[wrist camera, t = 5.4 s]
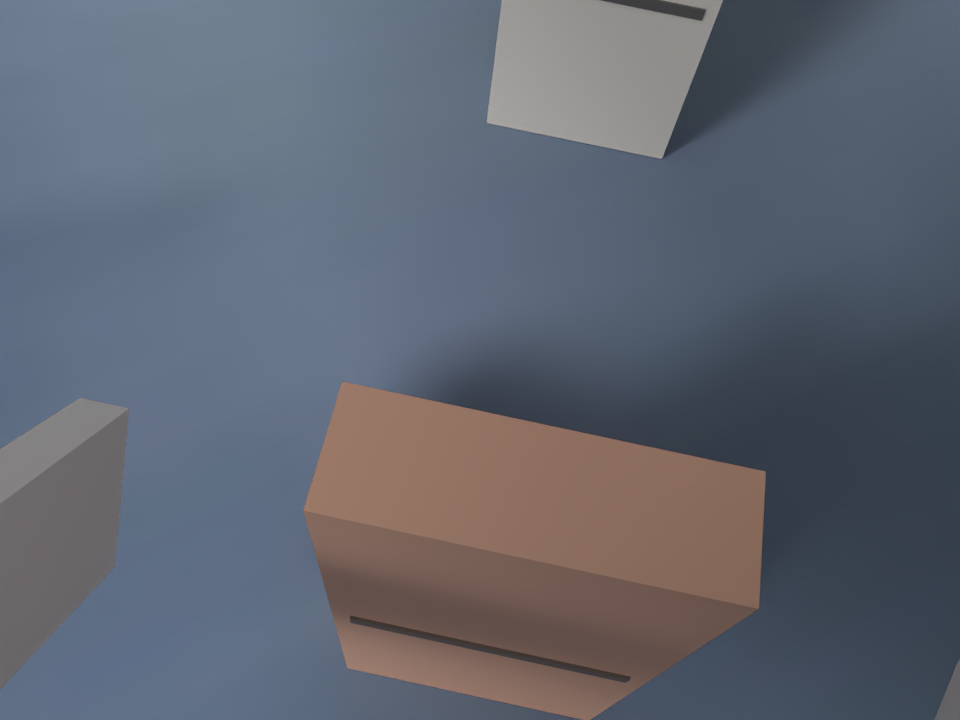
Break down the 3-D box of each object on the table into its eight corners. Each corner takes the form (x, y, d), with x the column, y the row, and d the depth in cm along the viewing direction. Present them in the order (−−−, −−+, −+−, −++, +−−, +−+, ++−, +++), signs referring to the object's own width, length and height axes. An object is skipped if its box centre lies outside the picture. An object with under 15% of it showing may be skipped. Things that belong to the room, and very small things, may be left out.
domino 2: (588, 724, 19) (758, 613, 10) (346, 670, 19) (301, 515, 10) (598, 639, 19) (766, 468, 11) (367, 589, 20) (343, 377, 11)
